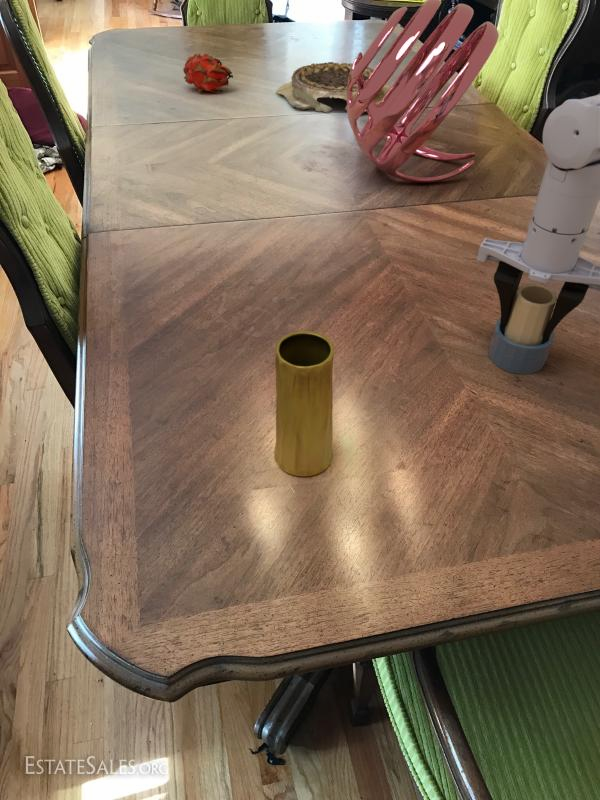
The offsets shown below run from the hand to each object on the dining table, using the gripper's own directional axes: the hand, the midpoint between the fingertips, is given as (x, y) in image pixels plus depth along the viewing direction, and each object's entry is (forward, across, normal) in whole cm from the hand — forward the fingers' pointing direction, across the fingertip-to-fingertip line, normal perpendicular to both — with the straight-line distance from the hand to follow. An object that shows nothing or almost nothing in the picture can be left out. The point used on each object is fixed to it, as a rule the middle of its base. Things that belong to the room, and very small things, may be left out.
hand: (525, 327), depth 73 cm
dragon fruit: (+5, -90, +61) cm, 109 cm away
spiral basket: (+5, -33, +45) cm, 56 cm away
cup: (+1, 0, 0) cm, 1 cm away
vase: (+5, -15, -27) cm, 31 cm away
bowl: (+4, 0, 0) cm, 4 cm away
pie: (+5, -62, +73) cm, 96 cm away
